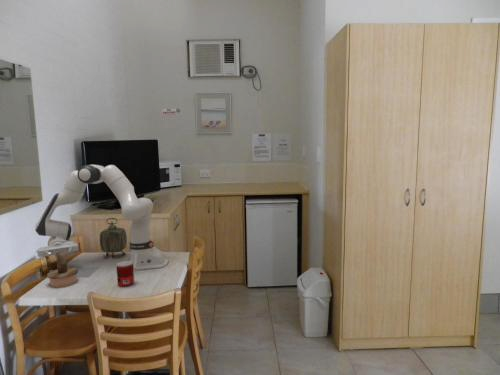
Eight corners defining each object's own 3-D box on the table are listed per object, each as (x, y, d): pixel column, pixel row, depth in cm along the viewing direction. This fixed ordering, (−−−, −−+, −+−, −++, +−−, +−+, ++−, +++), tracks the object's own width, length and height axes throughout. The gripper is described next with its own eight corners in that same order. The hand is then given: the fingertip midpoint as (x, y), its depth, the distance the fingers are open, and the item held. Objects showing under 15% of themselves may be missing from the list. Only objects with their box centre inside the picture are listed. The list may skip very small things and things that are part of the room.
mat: (100, 267, 209) (100, 266, 209) (88, 277, 193) (88, 276, 193) (72, 268, 208) (71, 267, 208) (58, 278, 192) (58, 277, 192)
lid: (82, 268, 192) (80, 248, 191) (70, 278, 178) (68, 256, 177) (55, 269, 192) (54, 249, 191) (41, 279, 178) (39, 257, 177)
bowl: (80, 278, 192) (79, 269, 191) (70, 287, 180) (69, 277, 179) (57, 279, 191) (56, 270, 191) (45, 288, 180) (44, 278, 179)
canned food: (137, 282, 185) (136, 261, 184) (126, 288, 178) (124, 266, 176) (126, 280, 188) (124, 259, 187) (114, 285, 181) (113, 264, 180)
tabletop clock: (127, 254, 234) (125, 216, 231) (123, 258, 225) (120, 219, 222) (105, 254, 234) (102, 216, 231) (99, 259, 225) (96, 219, 222)
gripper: (35, 244, 200) (36, 250, 189) (76, 239, 211) (79, 244, 199) (36, 255, 201) (37, 262, 189) (77, 249, 212) (80, 255, 200)
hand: (59, 253), depth 194 cm, fingers open, 8 cm apart
